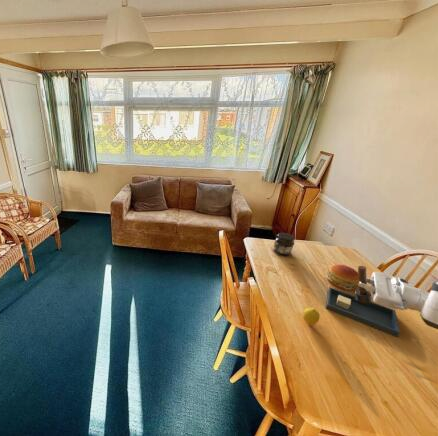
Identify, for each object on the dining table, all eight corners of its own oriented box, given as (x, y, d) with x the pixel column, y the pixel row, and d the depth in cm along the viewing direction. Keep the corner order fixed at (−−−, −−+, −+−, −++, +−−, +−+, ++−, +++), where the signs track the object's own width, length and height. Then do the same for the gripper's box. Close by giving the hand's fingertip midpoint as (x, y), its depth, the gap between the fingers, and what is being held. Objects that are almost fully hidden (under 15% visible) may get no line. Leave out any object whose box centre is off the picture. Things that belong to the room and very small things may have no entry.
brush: (373, 299, 99) (372, 266, 96) (368, 304, 97) (367, 271, 94) (358, 294, 104) (357, 263, 100) (353, 299, 102) (351, 268, 98)
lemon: (300, 315, 102) (305, 302, 98) (315, 321, 99) (321, 307, 96) (300, 324, 98) (306, 311, 94) (316, 330, 95) (322, 316, 92)
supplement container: (276, 246, 154) (280, 230, 149) (293, 252, 147) (298, 236, 142) (269, 251, 148) (273, 235, 143) (286, 258, 141) (292, 242, 136)
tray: (392, 315, 102) (395, 310, 101) (396, 338, 92) (400, 332, 90) (327, 291, 115) (329, 286, 114) (325, 309, 105) (327, 304, 104)
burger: (329, 288, 117) (336, 273, 113) (320, 272, 129) (326, 258, 124) (361, 294, 113) (369, 279, 109) (349, 277, 125) (356, 262, 120)
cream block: (348, 304, 107) (351, 299, 106) (347, 309, 104) (350, 305, 103) (336, 299, 110) (338, 294, 108) (335, 304, 107) (337, 300, 105)
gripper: (404, 317, 85) (356, 300, 93) (396, 287, 100) (355, 275, 108) (412, 305, 83) (362, 288, 91) (403, 276, 97) (361, 264, 105)
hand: (358, 281), depth 99 cm, fingers closed on brush, 2 cm apart
